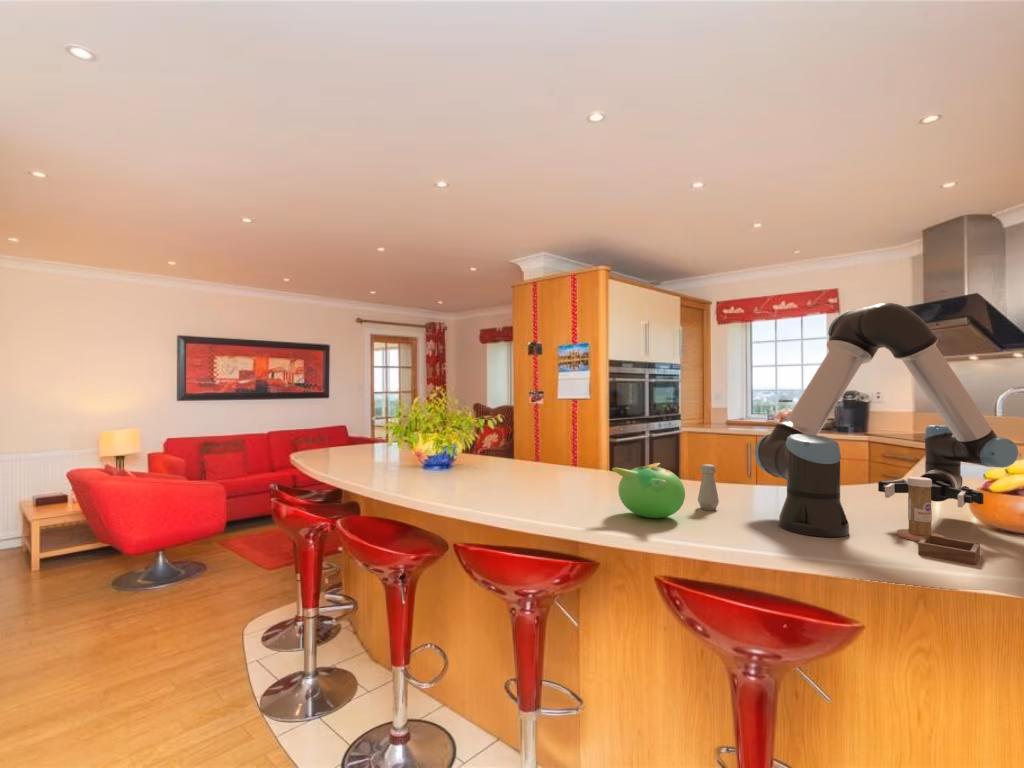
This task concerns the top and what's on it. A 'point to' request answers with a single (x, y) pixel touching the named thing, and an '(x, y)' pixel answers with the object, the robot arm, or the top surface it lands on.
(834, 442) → the robot arm
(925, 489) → the sprinkles bottle
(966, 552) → the walnut collar
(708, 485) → the salt shaker
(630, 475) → the green cartoon creature figurine
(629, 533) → the top surface
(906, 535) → the terracotta coaster
